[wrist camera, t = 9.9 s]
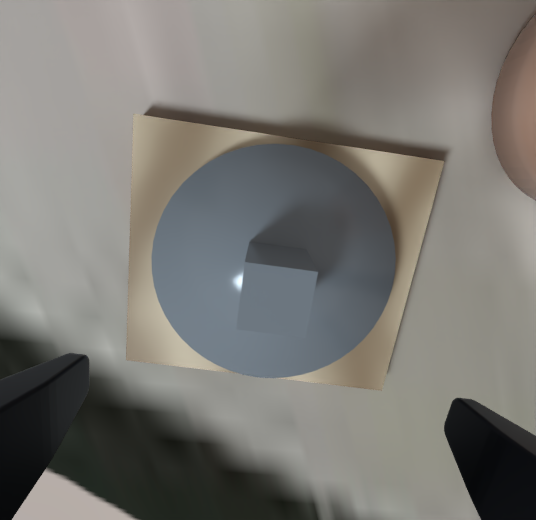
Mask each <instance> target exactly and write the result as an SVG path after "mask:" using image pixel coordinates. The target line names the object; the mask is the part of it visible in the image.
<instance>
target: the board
mask: <svg viewBox="0 0 536 520" xmlns="http://www.w3.org/2000/svg"><path fill="white" fill-rule="evenodd" d="M261 144H286V145H295V146H300V147H304V148H309V149H312V150H315V151H317V152H320V153H323V154H325V155H328V156H329V157H331V158H333V159H335V160H337V161H339V162H340V163H342V164H344V165H345V166H346V167H348V168H349V169H350V170H352V171H353V172H354V173H356V174H357V175H358V176H359V177H360V178H361V179H362V180H363V181H364V182H365V183H366V184H367V185H368V187H369V188H370V189H371V191H372V192H373V193H374V195H375V196H376V197H377V199H378V201H379V202H380V204H381V206H382V208H383V210H384V211H385V213H386V216H387V219H388V221H389V224H390V226H391V230H392V235H393V239H394V245H395V256H396V262H395V276H394V281H393V286H392V290H391V293H390V296H389V299H388V302H387V304H386V307H385V309H384V311H383V313H382V315H381V317H380V318H379V320H378V321H377V323H376V324H375V326H374V328H373V329H372V330H371V331H370V332H369V334H368V335H367V336H366V337H365V338H364V340H363V341H361V342H360V343H359V344H358V345H357V346H356V347H355V348H354V349H353V350H352V351H350V352H349V353H347V354H346V355H345V356H343V357H342V358H340V359H339V360H337V361H335V362H333V363H332V364H330V365H328V366H325V367H323V368H321V369H318V370H316V371H313V372H309V373H306V374H303V375H298V376H292V377H284V378H280V379H289V380H297V381H305V382H314V383H322V384H330V385H339V386H347V387H356V388H364V389H372V390H381V391H382V388H383V385H384V381H385V377H386V374H387V370H388V366H389V363H390V359H391V355H392V352H393V348H394V344H395V341H396V337H397V333H398V330H399V326H400V322H401V319H402V315H403V311H404V308H405V304H406V300H407V297H408V293H409V289H410V286H411V282H412V278H413V275H414V271H415V267H416V264H417V260H418V256H419V253H420V249H421V245H422V242H423V238H424V234H425V231H426V227H427V223H428V220H429V216H430V212H431V209H432V205H433V201H434V198H435V194H436V190H437V187H438V183H439V179H440V176H441V172H442V168H443V165H444V161H441V160H434V159H428V158H421V157H414V156H408V155H401V154H395V153H388V152H382V151H375V150H369V149H362V148H355V147H349V146H342V145H336V144H329V143H323V142H316V141H309V140H303V139H296V138H290V137H283V136H277V135H270V134H263V133H257V132H250V131H244V130H237V129H231V128H224V127H218V126H211V125H204V124H198V123H191V122H185V121H178V120H172V119H165V118H158V117H152V116H145V115H139V114H134V116H133V149H132V181H131V214H130V246H129V279H128V312H127V344H126V360H129V361H138V362H146V363H154V364H163V365H171V366H180V367H188V368H196V369H205V370H213V371H222V372H230V373H236V372H233V371H229V370H227V369H225V368H223V367H220V366H218V365H216V364H214V363H212V362H211V361H209V360H207V359H205V358H204V357H202V356H201V355H200V354H198V353H197V352H196V351H194V350H193V349H192V348H191V347H190V346H189V345H188V344H187V343H186V342H185V341H183V340H182V339H181V337H180V336H179V335H178V334H177V332H176V331H175V330H174V329H173V327H172V326H171V324H170V323H169V321H168V319H167V318H166V316H165V314H164V312H163V310H162V308H161V306H160V303H159V301H158V298H157V294H156V291H155V288H154V282H153V276H152V248H153V240H154V236H155V232H156V229H157V225H158V223H159V220H160V218H161V215H162V213H163V211H164V209H165V207H166V206H167V204H168V202H169V201H170V199H171V197H172V196H173V194H174V193H175V192H176V191H177V190H178V188H179V187H180V186H181V185H182V183H183V182H184V181H185V180H187V179H188V178H189V177H190V176H191V175H192V174H193V173H194V172H195V171H197V170H198V169H199V168H201V167H202V166H204V165H205V164H207V163H208V162H210V161H211V160H213V159H215V158H217V157H219V156H221V155H223V154H225V153H228V152H231V151H234V150H237V149H240V148H244V147H249V146H254V145H261ZM238 374H239V373H238Z"/></svg>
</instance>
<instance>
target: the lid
mask: <svg viewBox="0 0 536 520" xmlns="http://www.w3.org/2000/svg"><path fill="white" fill-rule="evenodd" d="M395 262H396V256H395V245H394V239H393V235H392V230H391V226H390V224H389V221H388V219H387V216H386V213H385V211H384V210H383V208H382V206H381V204H380V202H379V201H378V199H377V197H376V196H375V195H374V193H373V192H372V191H371V189H370V188H369V187H368V185H367V184H366V183H365V182H364V181H363V180H362V179H361V178H360V177H359V176H358V175H357V174H356V173H354V172H353V171H352V170H350V169H349V168H348V167H346V166H345V165H344V164H342V163H340V162H339V161H337V160H335V159H333V158H331V157H329V156H328V155H325V154H323V153H320V152H317V151H315V150H312V149H309V148H304V147H300V146H295V145H286V144H261V145H254V146H249V147H244V148H240V149H237V150H234V151H231V152H228V153H225V154H223V155H221V156H219V157H217V158H215V159H213V160H211V161H210V162H208V163H207V164H205V165H204V166H202V167H201V168H199V169H198V170H197V171H195V172H194V173H193V174H192V175H191V176H190V177H189V178H188V179H187V180H185V181H184V182H183V183H182V185H181V186H180V187H179V188H178V190H177V191H176V192H175V193H174V194H173V196H172V197H171V199H170V201H169V202H168V204H167V206H166V207H165V209H164V211H163V213H162V215H161V218H160V220H159V223H158V225H157V229H156V232H155V236H154V240H153V248H152V276H153V282H154V288H155V291H156V294H157V298H158V301H159V303H160V306H161V308H162V310H163V312H164V314H165V316H166V318H167V319H168V321H169V323H170V324H171V326H172V327H173V329H174V330H175V331H176V332H177V334H178V335H179V336H180V337H181V339H182V340H183V341H185V342H186V343H187V344H188V345H189V346H190V347H191V348H192V349H193V350H194V351H196V352H197V353H198V354H200V355H201V356H202V357H204V358H205V359H207V360H209V361H211V362H212V363H214V364H216V365H218V366H220V367H223V368H225V369H227V370H229V371H233V372H236V373H239V374H243V375H248V376H254V377H262V378H284V377H292V376H298V375H303V374H306V373H309V372H313V371H316V370H318V369H321V368H323V367H325V366H328V365H330V364H332V363H333V362H335V361H337V360H339V359H340V358H342V357H343V356H345V355H346V354H347V353H349V352H350V351H352V350H353V349H354V348H355V347H356V346H357V345H358V344H359V343H360V342H361V341H363V340H364V338H365V337H366V336H367V335H368V334H369V332H370V331H371V330H372V329H373V328H374V326H375V324H376V323H377V321H378V320H379V318H380V317H381V315H382V313H383V311H384V309H385V307H386V304H387V302H388V299H389V296H390V293H391V290H392V286H393V281H394V276H395Z"/></svg>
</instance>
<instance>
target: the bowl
mask: <svg viewBox="0 0 536 520" xmlns="http://www.w3.org/2000/svg"><path fill="white" fill-rule="evenodd" d="M492 134H493V142H494V146H495V149H496V153H497V156H498V158H499V161H500V163H501V165H502V167H503V169H504V171H505V172H506V174H507V175H508V177H509V178H510V180H511V181H512V182H513V183H514V184H515V185H516V186H517V187H518V188H519V189H520V190H521V191H522V192H524V193H525V194H526V195H527V196H529V197H531V198H532V199H534V200H536V14H535V16H534V17H533V18H532V19H531V20H530V21H529V23H528V24H527V25H526V26H525V28H524V29H523V30H522V32H521V33H520V34H519V36H518V38H517V39H516V41H515V42H514V44H513V46H512V47H511V49H510V51H509V53H508V55H507V57H506V59H505V61H504V64H503V66H502V69H501V72H500V74H499V77H498V80H497V84H496V88H495V92H494V97H493V105H492Z"/></svg>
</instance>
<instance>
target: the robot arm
mask: <svg viewBox="0 0 536 520" xmlns="http://www.w3.org/2000/svg"><path fill="white" fill-rule="evenodd" d="M88 389H89V358H88V357H87V356H86V355H83V354H74V353H68V354H65V355H63V356H60V357H58V358H55V359H53V360H50V361H47V362H45V363H42V364H40V365H37V366H35V367H32V368H29V369H27V370H24V371H22V372H19V373H16V374H14V375H11V376H9V377H6V378H4V379H1V380H0V520H12V518H13V517H14V515H15V514H16V512H17V511H18V509H19V508H20V506H21V505H22V503H23V502H24V500H25V499H26V497H27V496H28V494H29V493H30V491H31V490H32V488H33V487H34V485H35V484H36V482H37V481H38V479H39V478H40V476H41V475H42V473H43V472H44V470H45V469H46V467H47V466H48V464H49V463H50V461H51V459H52V458H53V456H54V454H55V453H56V451H57V449H58V447H59V445H60V444H61V442H62V440H63V438H64V436H65V434H66V432H67V431H68V429H69V427H70V425H71V423H72V421H73V419H74V418H75V416H76V414H77V412H78V410H79V408H80V406H81V405H82V403H83V401H84V399H85V397H86V395H87V393H88ZM444 431H445V435H446V438H447V441H448V443H449V446H450V448H451V451H452V453H453V455H454V458H455V460H456V463H457V465H458V468H459V470H460V473H461V475H462V478H463V480H464V483H465V485H466V488H467V490H468V492H469V495H470V497H471V499H472V502H473V504H474V506H475V508H476V510H477V512H478V514H479V516H480V518H481V520H536V436H535V435H533V434H532V433H530V432H528V431H526V430H525V429H523V428H521V427H519V426H518V425H516V424H514V423H513V422H511V421H509V420H507V419H506V418H504V417H502V416H500V415H499V414H497V413H495V412H494V411H492V410H490V409H488V408H487V407H485V406H483V405H481V404H480V403H478V402H476V401H474V400H472V399H464V398H456V399H454V400H453V401H452V404H451V407H450V410H449V413H448V415H447V418H446V421H445V425H444Z"/></svg>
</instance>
